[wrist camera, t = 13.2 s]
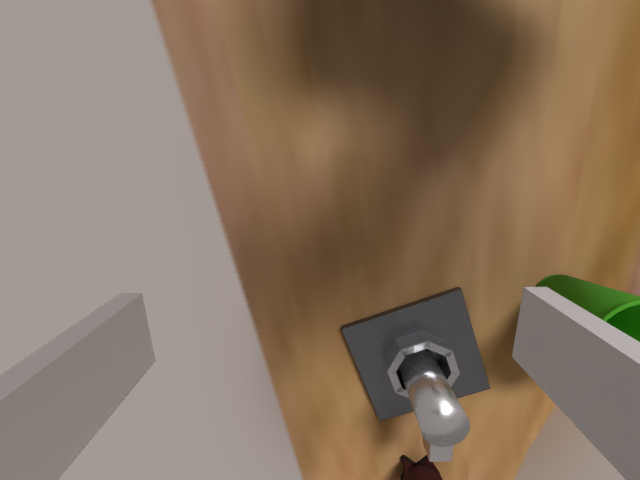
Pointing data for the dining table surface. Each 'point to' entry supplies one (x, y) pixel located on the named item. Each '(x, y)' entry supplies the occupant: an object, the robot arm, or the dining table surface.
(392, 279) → the dining table surface
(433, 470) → the mate gourd
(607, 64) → the dining table surface
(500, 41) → the dining table surface
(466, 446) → the dining table surface
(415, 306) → the duct flange
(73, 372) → the robot arm
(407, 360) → the elbow
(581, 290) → the cup
